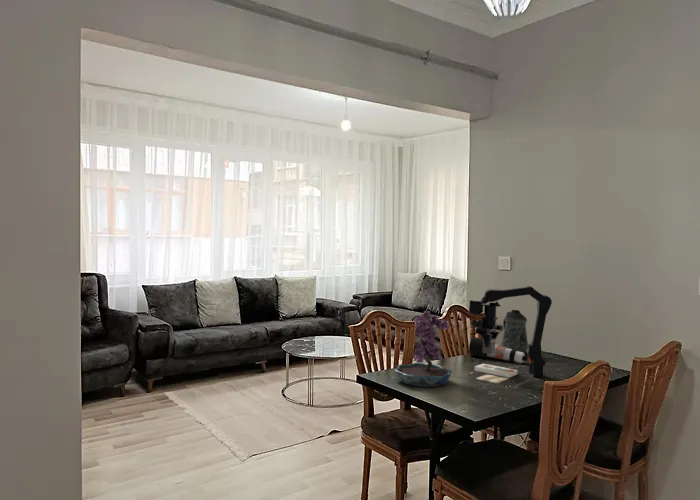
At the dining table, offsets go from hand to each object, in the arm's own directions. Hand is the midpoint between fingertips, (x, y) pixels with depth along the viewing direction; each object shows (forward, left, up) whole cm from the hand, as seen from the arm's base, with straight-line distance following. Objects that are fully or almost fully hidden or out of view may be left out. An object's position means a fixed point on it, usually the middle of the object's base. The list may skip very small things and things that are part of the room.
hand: (488, 346), depth 263 cm
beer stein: (+11, -53, -13) cm, 56 cm away
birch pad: (-8, +12, -13) cm, 19 cm away
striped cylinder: (+8, -31, -13) cm, 35 cm away
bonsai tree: (+14, +34, -13) cm, 39 cm away
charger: (0, 0, -3) cm, 3 cm away
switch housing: (-4, 0, -13) cm, 14 cm away
